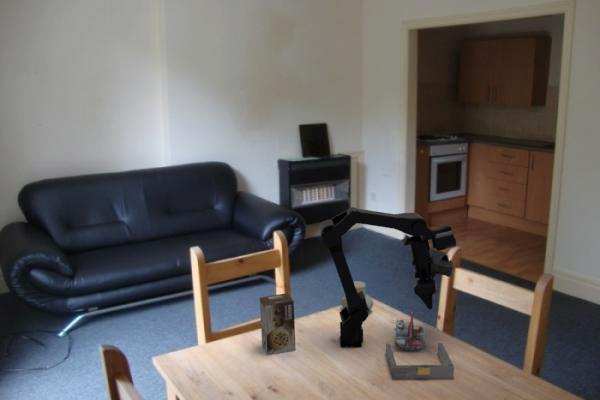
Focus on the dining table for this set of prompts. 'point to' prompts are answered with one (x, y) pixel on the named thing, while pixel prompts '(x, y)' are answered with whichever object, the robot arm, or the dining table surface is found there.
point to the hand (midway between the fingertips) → (430, 301)
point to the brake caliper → (409, 335)
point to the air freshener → (362, 287)
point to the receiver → (421, 367)
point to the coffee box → (277, 323)
